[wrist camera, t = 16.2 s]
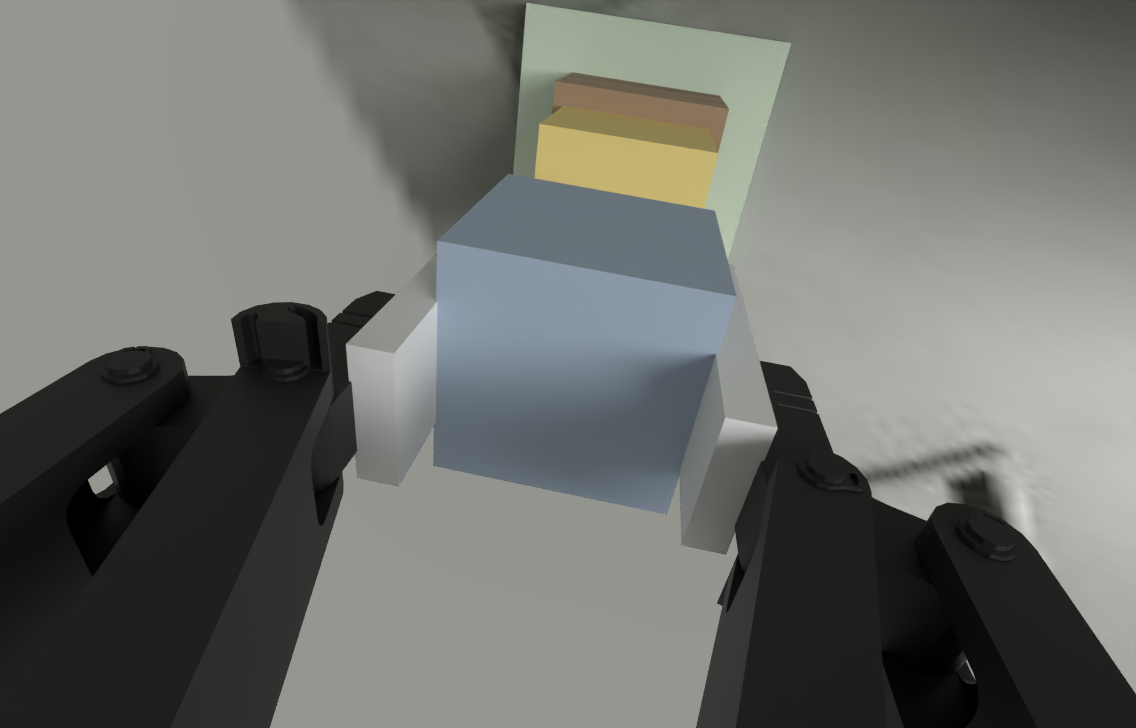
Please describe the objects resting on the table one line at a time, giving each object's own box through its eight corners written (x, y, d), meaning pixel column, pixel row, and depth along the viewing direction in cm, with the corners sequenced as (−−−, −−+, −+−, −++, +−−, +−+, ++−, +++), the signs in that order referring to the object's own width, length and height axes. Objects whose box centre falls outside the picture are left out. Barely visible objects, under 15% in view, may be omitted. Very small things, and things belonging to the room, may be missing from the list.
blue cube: (508, 174, 14) (437, 240, 10) (714, 210, 13) (736, 296, 9) (494, 351, 16) (433, 465, 12) (667, 384, 16) (667, 514, 12)
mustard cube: (563, 105, 23) (539, 123, 19) (709, 129, 23) (718, 153, 19) (547, 245, 27) (524, 287, 22) (676, 268, 26) (677, 315, 22)
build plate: (531, 3, 27) (526, 2, 26) (786, 42, 26) (791, 43, 25) (512, 244, 33) (507, 251, 32) (717, 281, 33) (718, 290, 32)
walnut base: (572, 72, 27) (555, 81, 23) (719, 95, 27) (729, 109, 23) (555, 216, 31) (537, 246, 27) (684, 238, 30) (686, 273, 26)
